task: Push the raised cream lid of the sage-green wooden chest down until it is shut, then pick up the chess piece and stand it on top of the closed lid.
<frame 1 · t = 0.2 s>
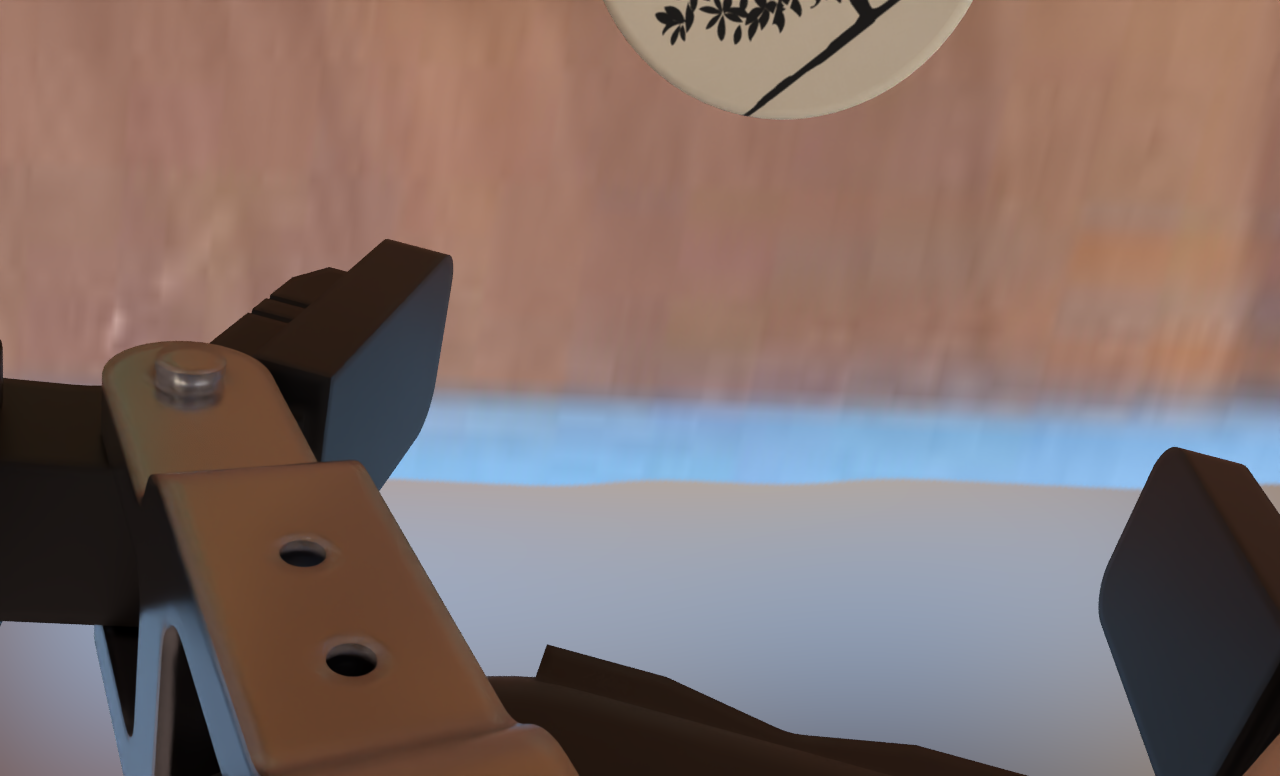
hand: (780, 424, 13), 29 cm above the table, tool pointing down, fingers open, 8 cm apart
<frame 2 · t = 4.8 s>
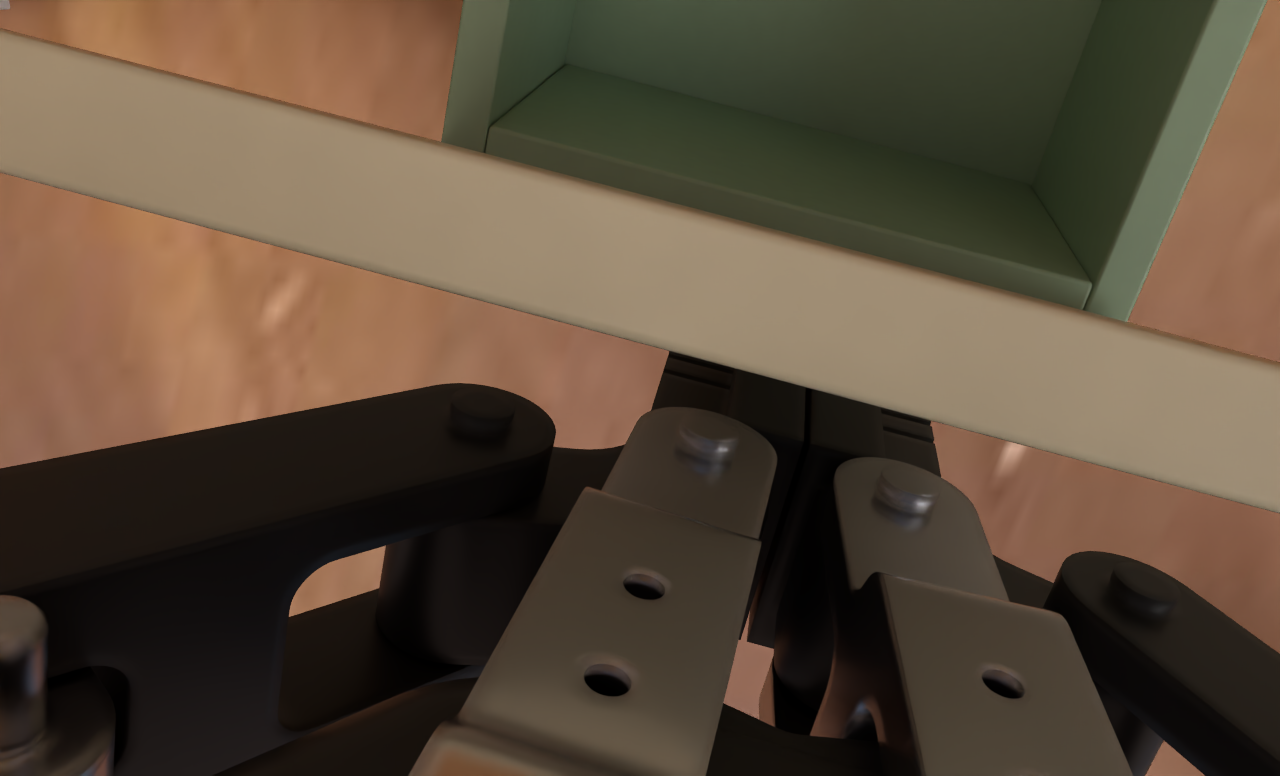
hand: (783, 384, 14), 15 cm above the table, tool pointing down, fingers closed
lid: (802, 273, 14), point 15 cm above the table, hinge at 73.7°
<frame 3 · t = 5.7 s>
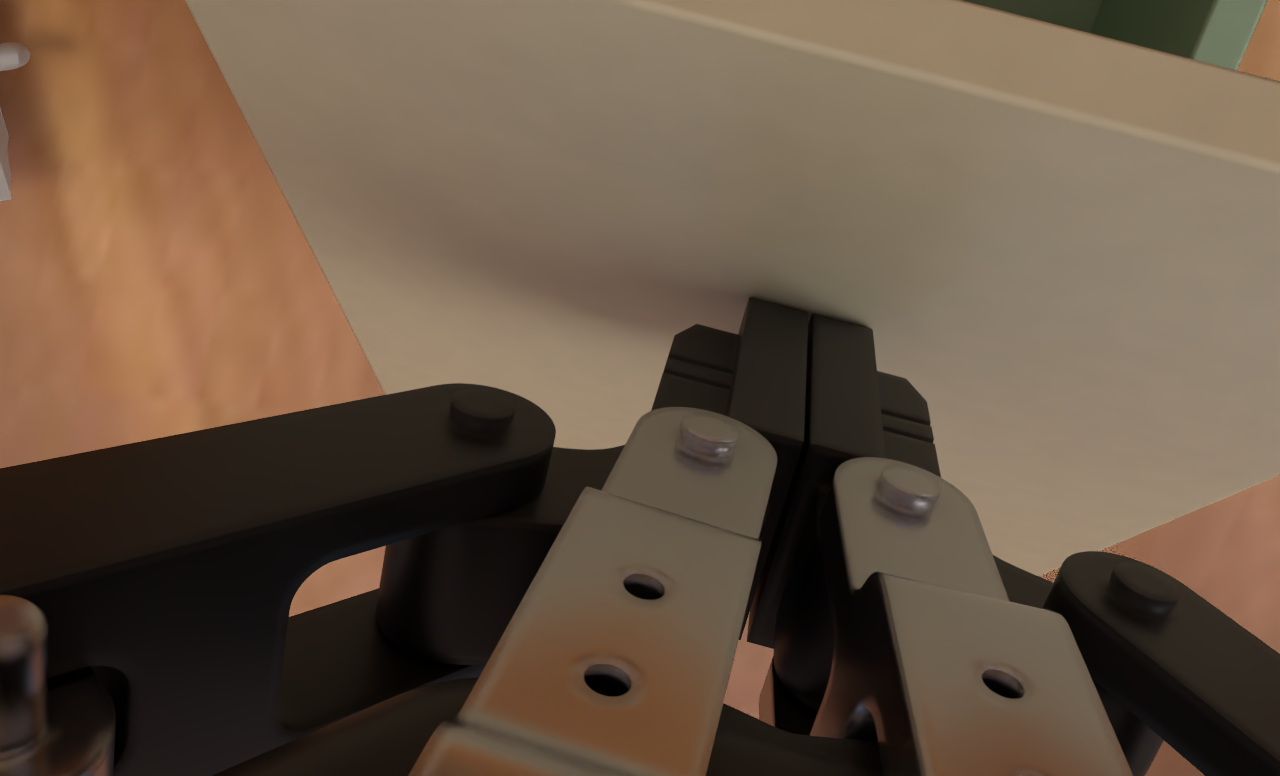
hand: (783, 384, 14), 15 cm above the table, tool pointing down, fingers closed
chest: (815, 56, 28), on the table
lid: (770, 347, 16), point 14 cm above the table, hinge at 47.1°, touching gripper
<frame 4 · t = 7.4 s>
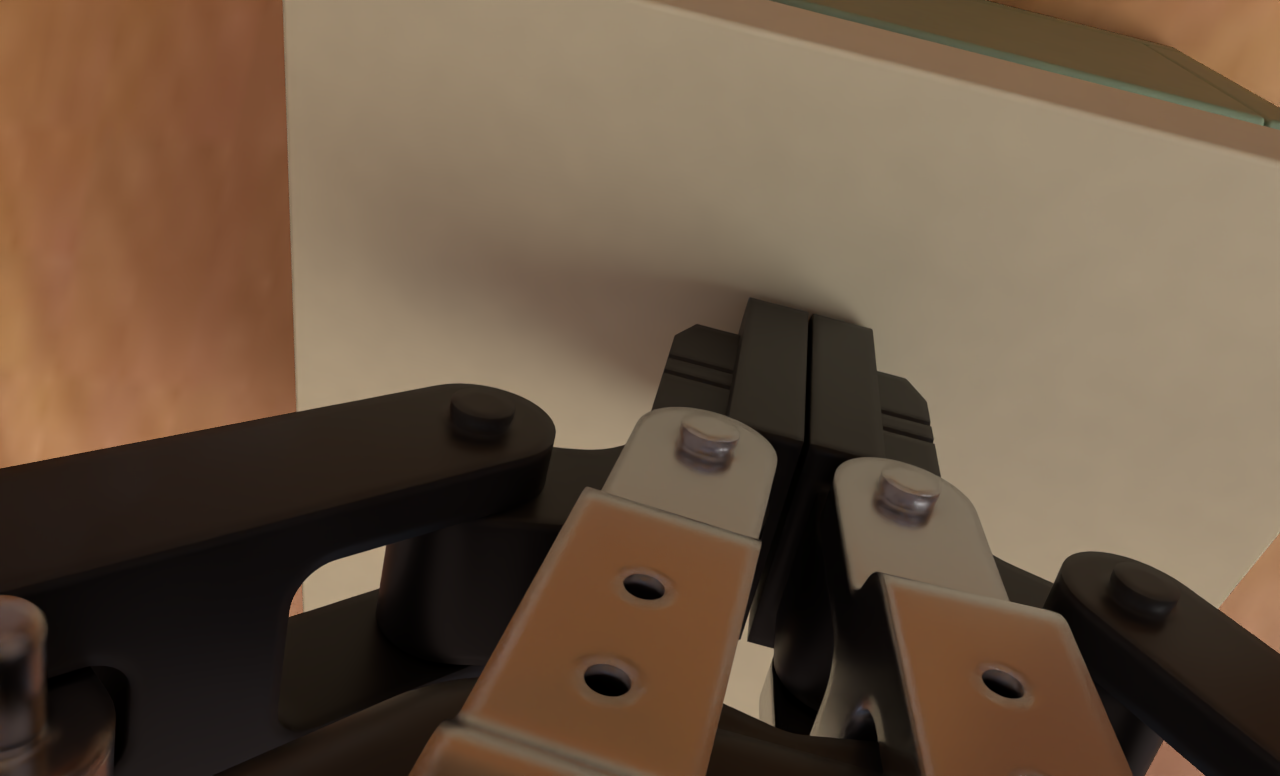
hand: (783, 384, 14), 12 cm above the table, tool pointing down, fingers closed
chest: (766, 286, 26), on the table
lid: (734, 518, 17), point 10 cm above the table, hinge at 16.7°, touching gripper
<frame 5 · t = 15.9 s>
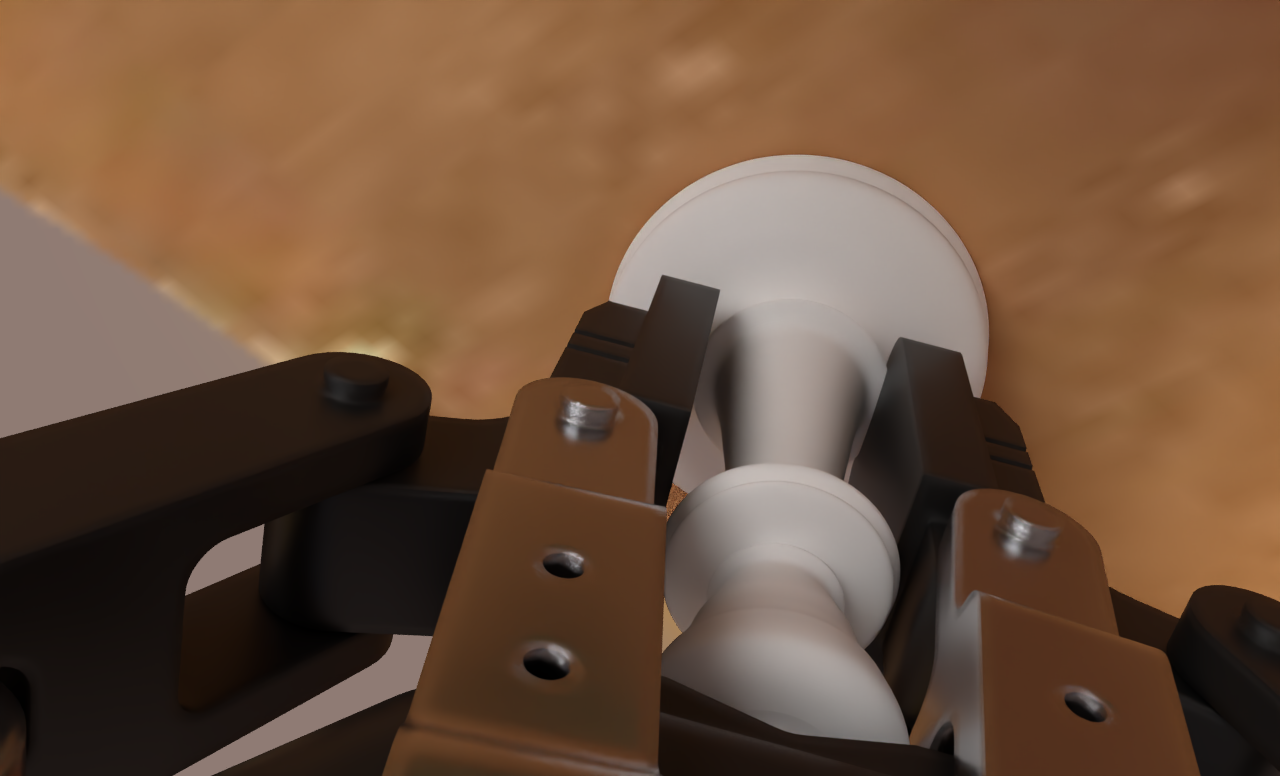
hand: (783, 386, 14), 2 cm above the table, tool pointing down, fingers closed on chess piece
chess piece: (793, 335, 16), on the table, touching gripper
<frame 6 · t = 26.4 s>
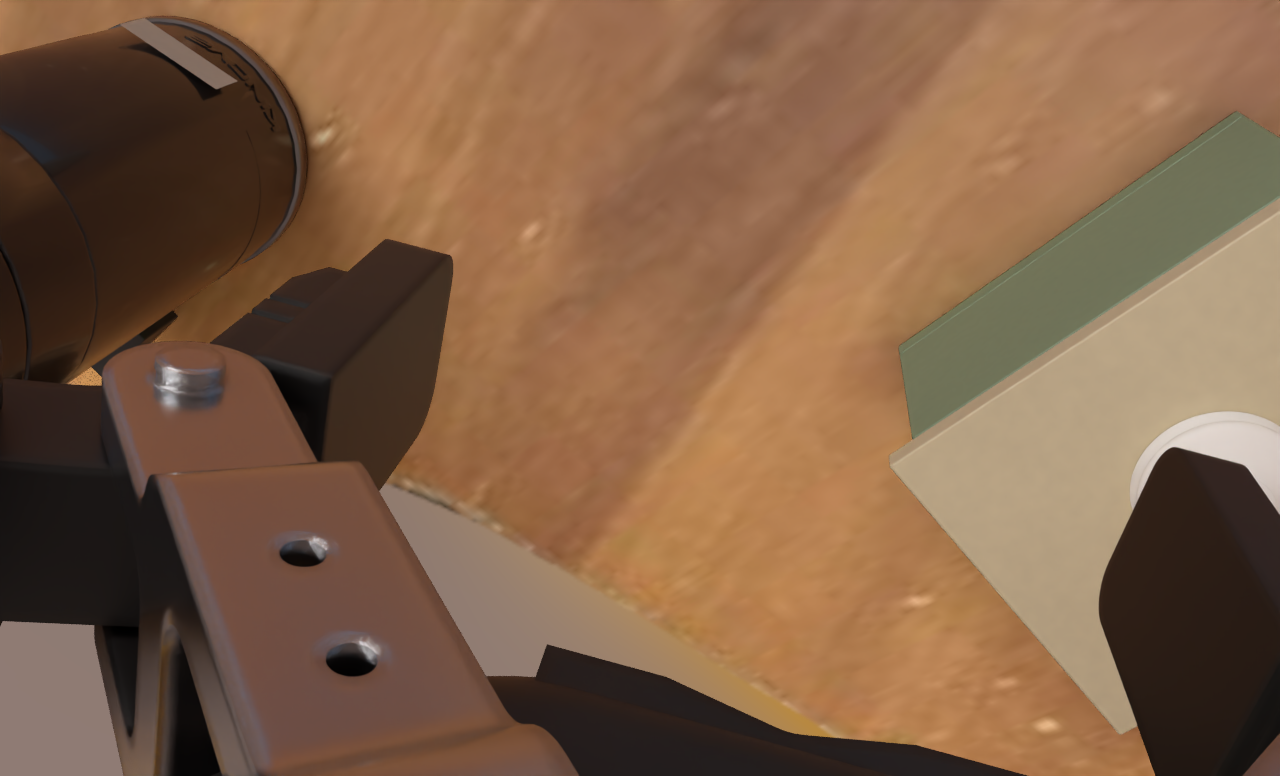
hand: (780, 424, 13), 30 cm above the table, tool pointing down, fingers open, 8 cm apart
chest: (1157, 365, 43), on the table
lid: (1212, 479, 36), point 8 cm above the table, hinge at -0.1°, touching chess piece
chess piece: (1214, 482, 36), point 8 cm above the table, touching lid
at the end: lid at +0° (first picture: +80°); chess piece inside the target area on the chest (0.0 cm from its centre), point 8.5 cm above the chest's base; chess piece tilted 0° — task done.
